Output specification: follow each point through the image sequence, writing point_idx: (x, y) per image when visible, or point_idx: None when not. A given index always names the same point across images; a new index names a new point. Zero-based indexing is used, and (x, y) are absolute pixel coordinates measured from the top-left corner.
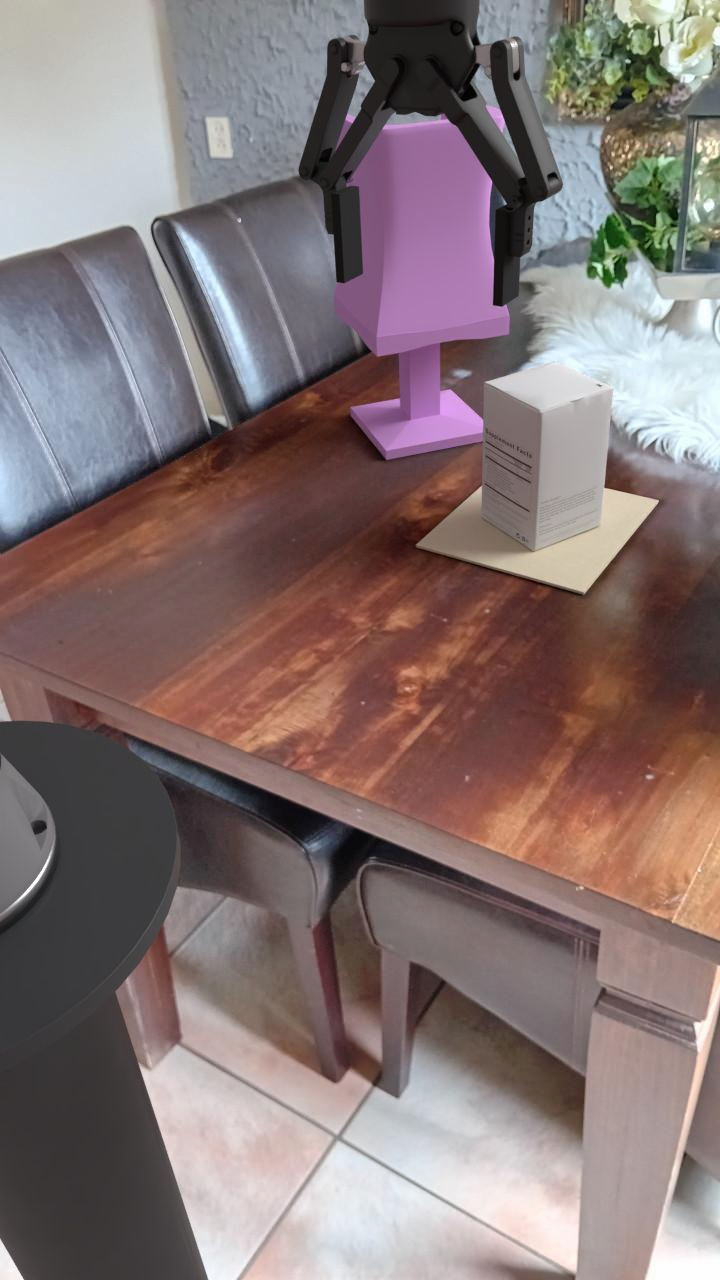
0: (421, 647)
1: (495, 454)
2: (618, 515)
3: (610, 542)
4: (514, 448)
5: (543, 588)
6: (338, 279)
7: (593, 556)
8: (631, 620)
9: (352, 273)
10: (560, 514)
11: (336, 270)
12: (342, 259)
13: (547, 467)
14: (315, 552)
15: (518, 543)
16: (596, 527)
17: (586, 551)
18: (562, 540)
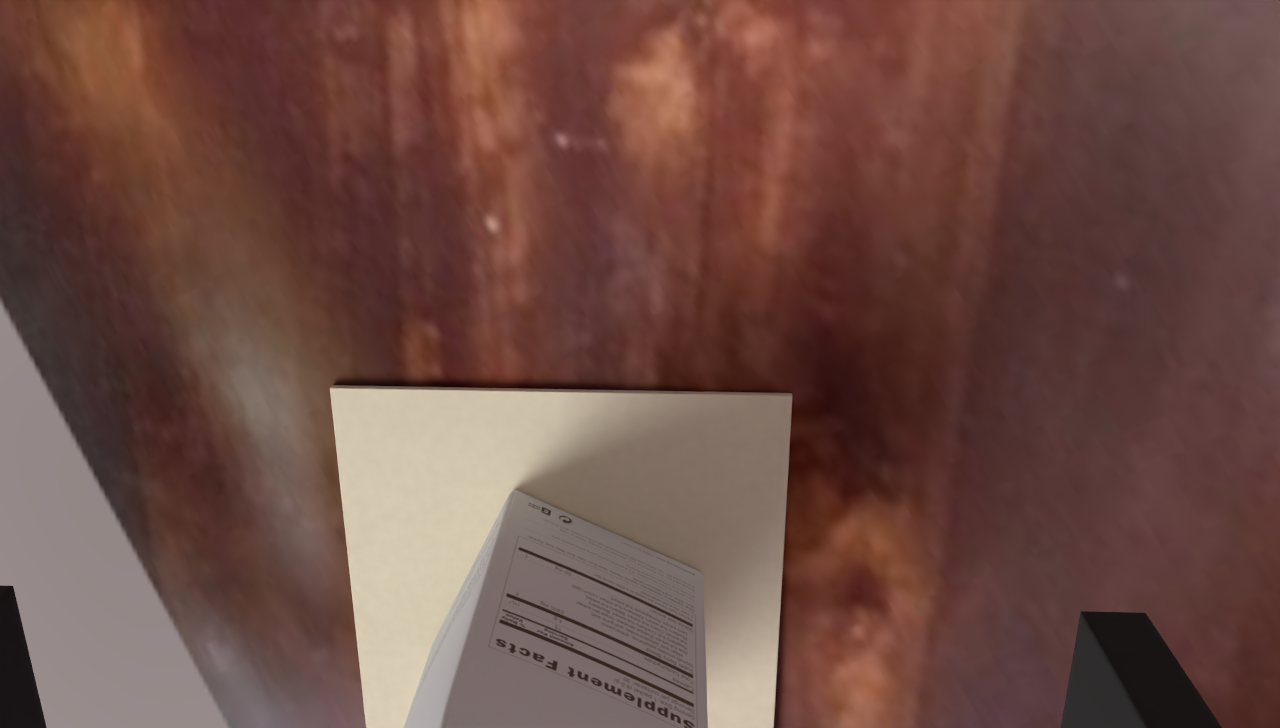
0: (552, 5)
1: (649, 670)
2: None
3: (379, 596)
4: (567, 668)
5: (424, 369)
6: (1135, 626)
7: (384, 529)
8: (195, 341)
9: (1078, 719)
10: (466, 588)
11: (1169, 658)
12: (1142, 711)
13: (460, 636)
14: (1031, 255)
15: (563, 506)
16: None
17: (408, 541)
18: None
